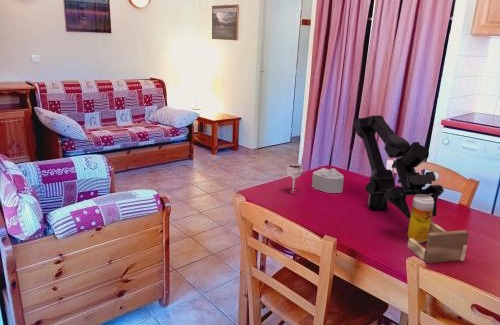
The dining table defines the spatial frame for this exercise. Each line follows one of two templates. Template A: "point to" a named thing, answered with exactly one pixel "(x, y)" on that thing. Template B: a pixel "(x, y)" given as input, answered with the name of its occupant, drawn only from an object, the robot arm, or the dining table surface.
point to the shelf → (441, 245)
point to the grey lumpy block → (328, 180)
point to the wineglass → (294, 171)
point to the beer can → (420, 217)
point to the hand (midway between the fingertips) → (422, 217)
